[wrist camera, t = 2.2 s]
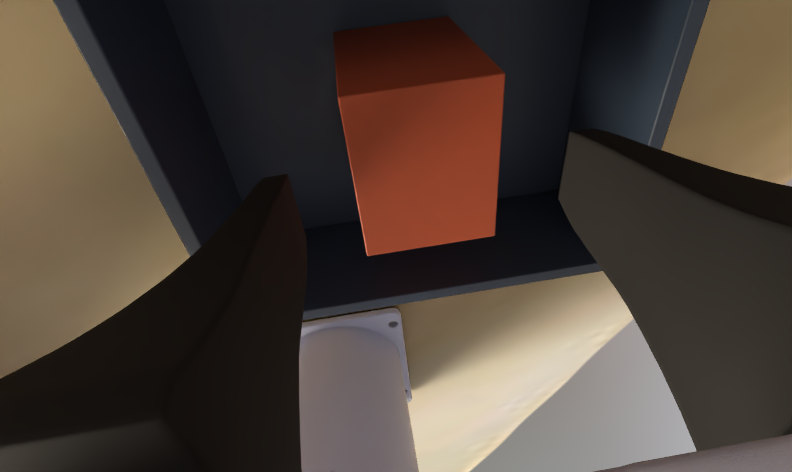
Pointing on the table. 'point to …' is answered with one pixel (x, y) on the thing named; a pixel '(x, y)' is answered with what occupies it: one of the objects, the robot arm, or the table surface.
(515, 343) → the table surface
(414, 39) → the small box
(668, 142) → the table surface
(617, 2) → the storage box
